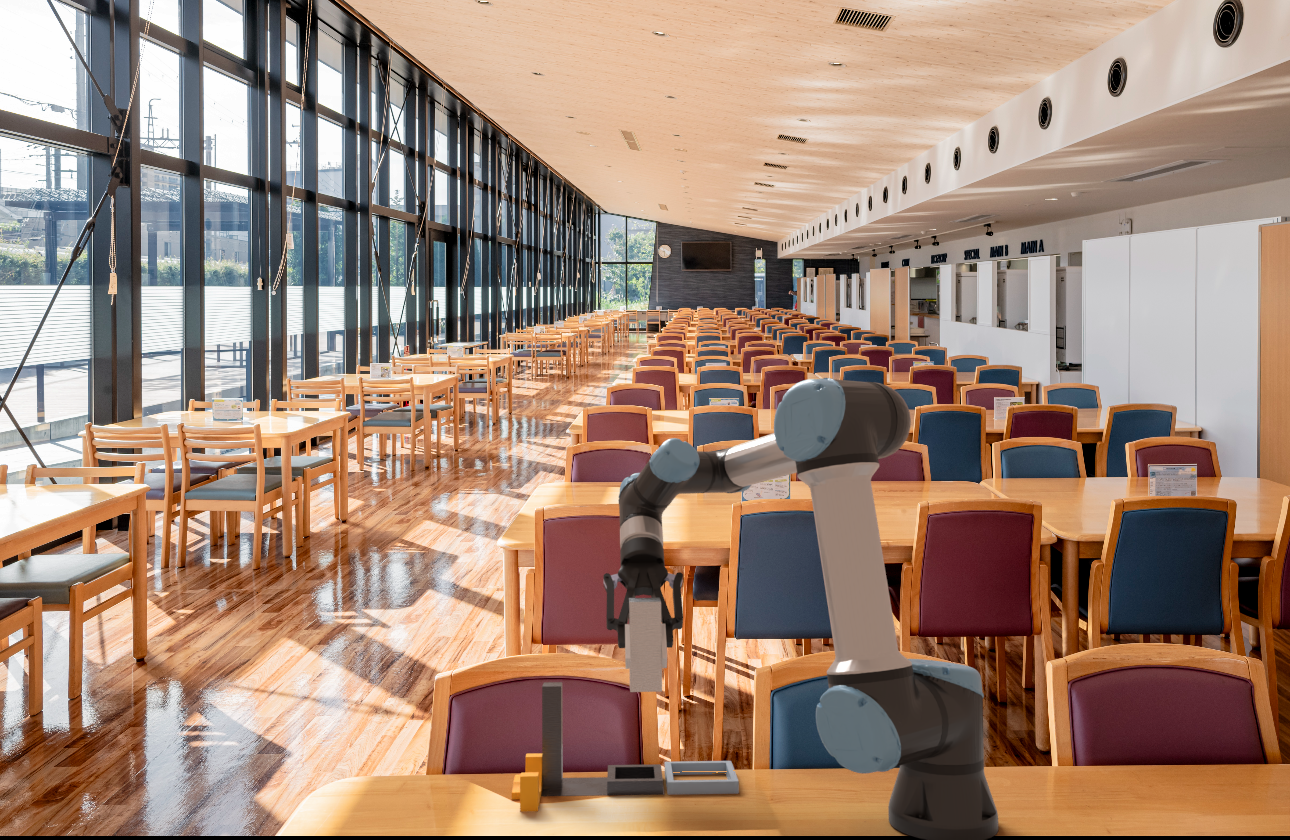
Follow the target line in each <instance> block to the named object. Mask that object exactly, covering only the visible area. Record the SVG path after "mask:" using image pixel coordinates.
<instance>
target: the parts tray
mask: <svg viewBox="0 0 1290 840" xmlns="http://www.w3.org/2000/svg"><path fill="white" fill-rule="evenodd" d="M733 770H735V767H734V765H733V763H732V760H702V761H701V760H699V761H698V760H692V761H691V760H689V761H688V760H687V761H664V778H665V779H664V780H665V786H666V791H667V795H669V796H670V795H723V794H725V795H727V794H728V795H730V794H736V795H738V794H740V785H739V784H740V783H739V782H740V781H739V777H738V776H737V774H736V771H733ZM682 771H727V772H718V773H726V774H725V776H726V779H677V780H676V779H674V775H675V776H676V775H677V776H681V775H682V776H684V775H686V776H688V775H713V774H712V773H716V772H682ZM673 772H680V773H673Z"/></svg>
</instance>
